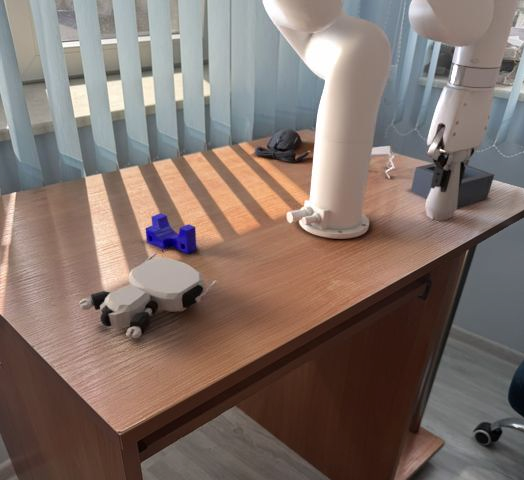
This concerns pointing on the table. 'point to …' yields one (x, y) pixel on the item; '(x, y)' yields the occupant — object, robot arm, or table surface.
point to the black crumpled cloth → (282, 146)
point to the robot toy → (149, 294)
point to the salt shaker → (446, 202)
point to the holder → (470, 190)
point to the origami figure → (384, 155)
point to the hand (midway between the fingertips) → (445, 187)
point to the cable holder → (170, 235)
